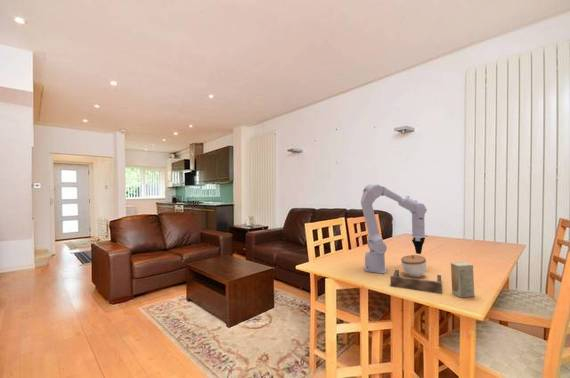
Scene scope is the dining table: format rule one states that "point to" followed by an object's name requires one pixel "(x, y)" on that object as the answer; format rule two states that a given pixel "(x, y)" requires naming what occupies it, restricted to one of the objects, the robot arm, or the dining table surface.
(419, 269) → the lidded jar
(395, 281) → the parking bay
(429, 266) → the dining table surface
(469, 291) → the skincare box
